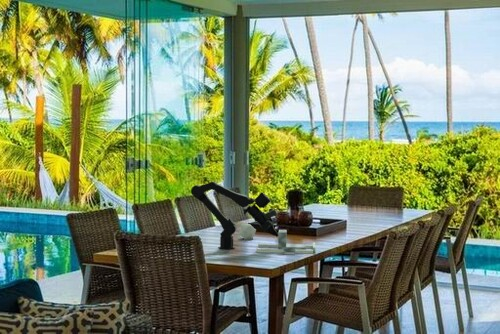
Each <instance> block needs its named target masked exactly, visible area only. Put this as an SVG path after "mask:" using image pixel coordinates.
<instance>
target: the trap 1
mask: <svg viewBox="0 0 500 334" xmlns="http://www.w3.org/2000/svg"><path fill="white" fill-rule="evenodd" d="M282 255H283V256H295V255H296V253H295V252H283V253H282Z"/></svg>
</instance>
